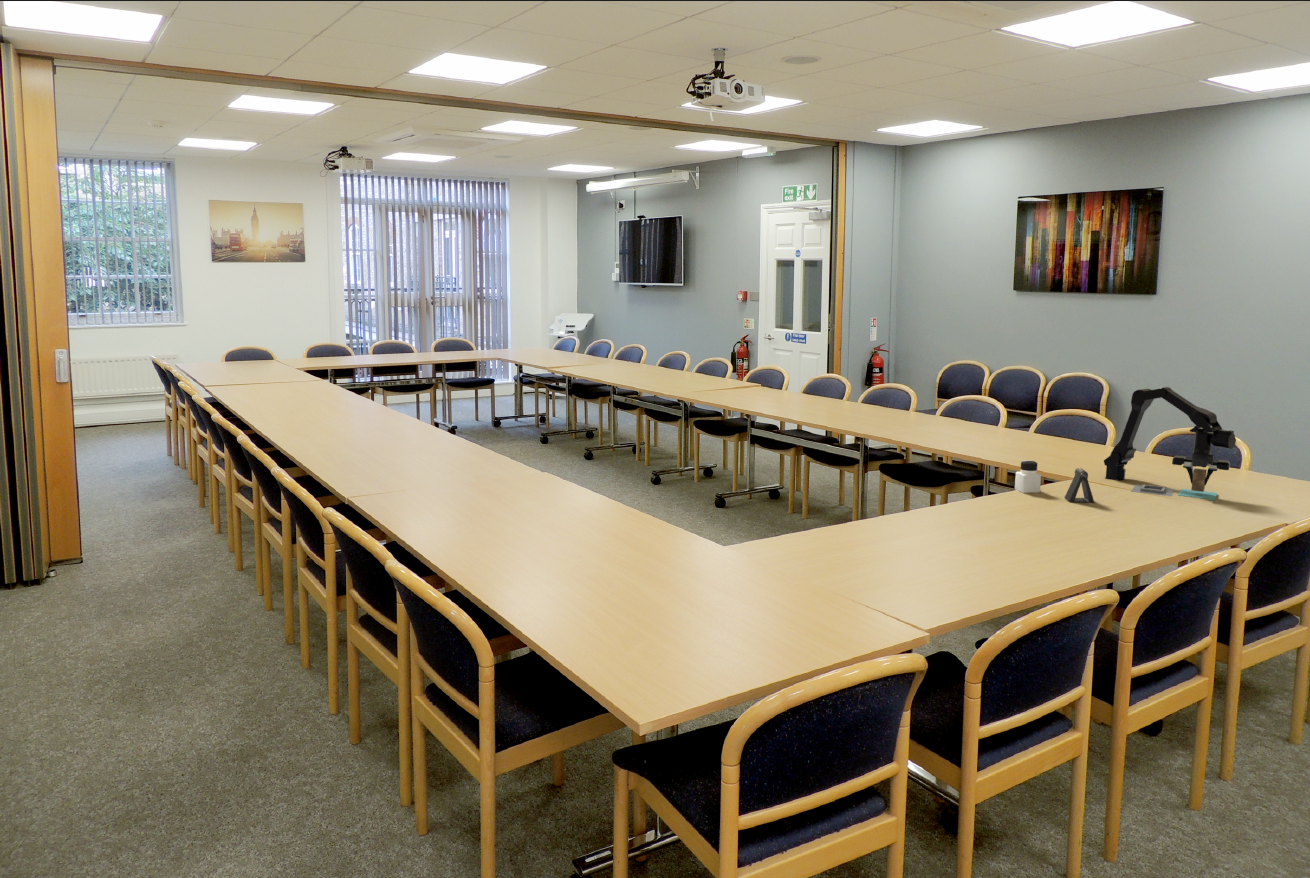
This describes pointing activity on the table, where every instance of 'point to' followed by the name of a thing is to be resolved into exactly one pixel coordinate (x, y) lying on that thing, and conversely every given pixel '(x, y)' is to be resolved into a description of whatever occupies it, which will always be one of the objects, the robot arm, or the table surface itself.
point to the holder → (1153, 490)
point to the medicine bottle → (1028, 478)
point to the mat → (1198, 494)
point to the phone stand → (1075, 486)
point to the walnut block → (1199, 480)
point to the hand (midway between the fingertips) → (1198, 484)
